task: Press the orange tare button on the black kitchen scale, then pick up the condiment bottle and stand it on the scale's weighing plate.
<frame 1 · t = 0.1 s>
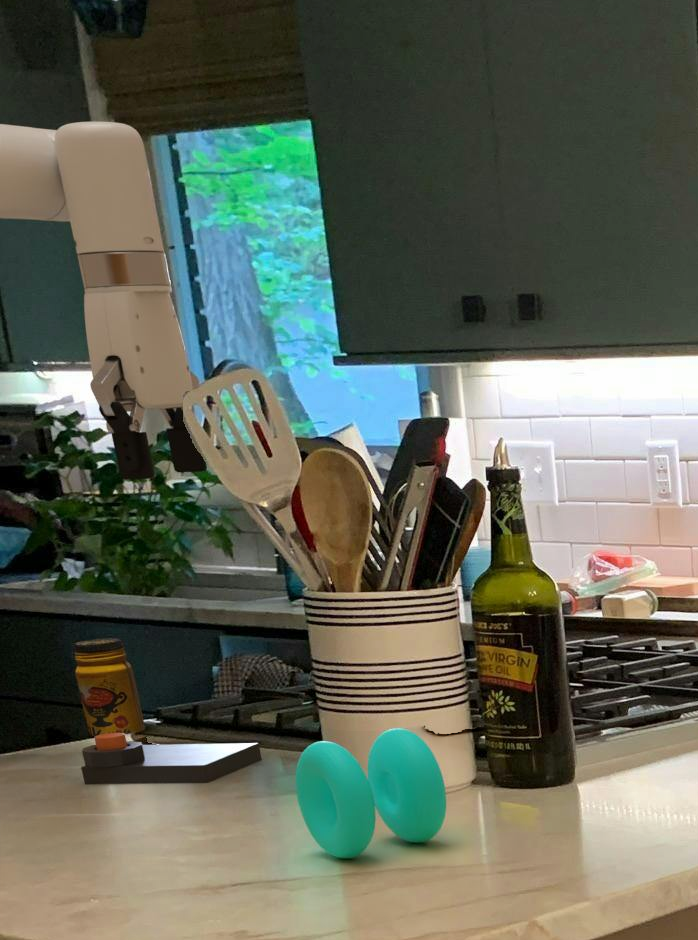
hand: (165, 475, 185), 30 cm above the counter, tool pointing down, fingers open, 9 cm apart
condiment: (122, 748, 224), on the counter
tare button: (111, 742, 204), point 4 cm above the counter, slide at 0.1 cm
donuts: (381, 851, 170), on the counter
scale: (175, 772, 208), on the counter
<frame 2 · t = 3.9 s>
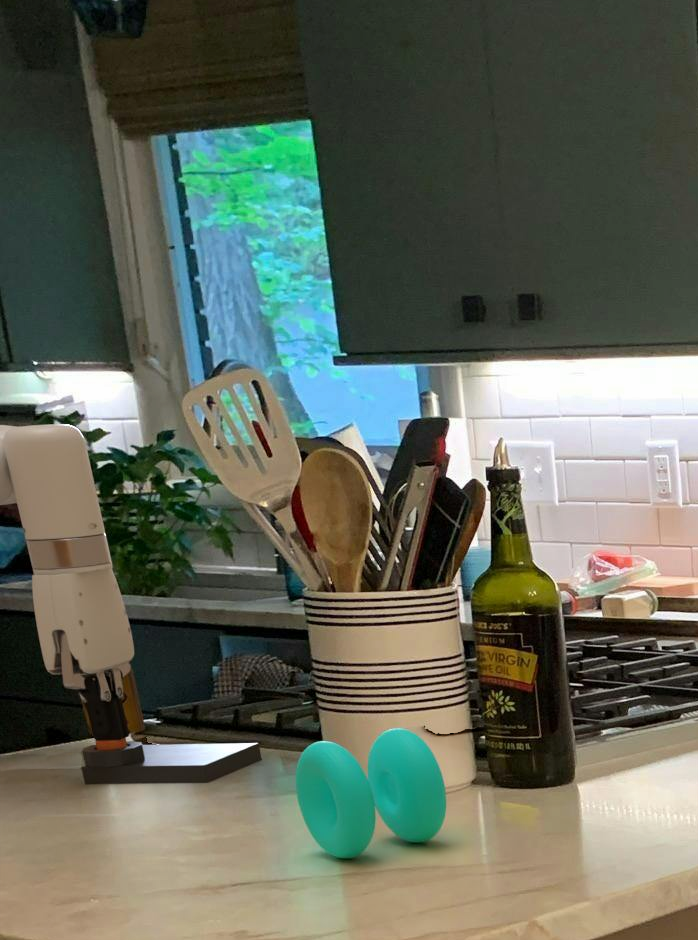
hand: (112, 738, 203), 4 cm above the counter, tool pointing down, fingers closed
tare button: (111, 746, 204), point 4 cm above the counter, slide at -0.2 cm, touching gripper
everything else where it was.
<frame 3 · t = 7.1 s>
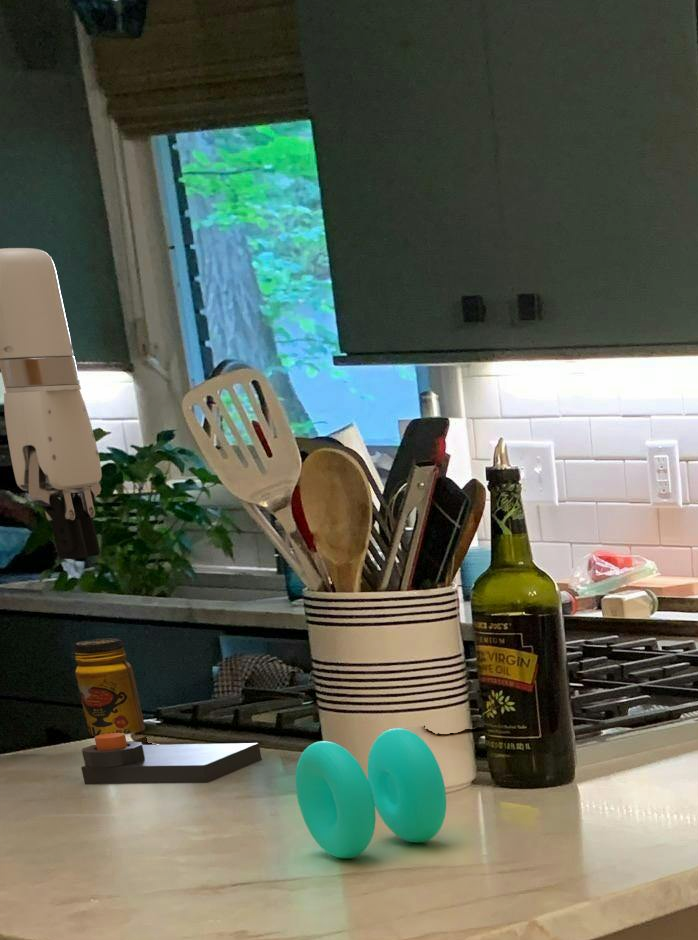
hand: (79, 555, 215), 21 cm above the counter, tool pointing down, fingers closed
tare button: (111, 742, 204), point 4 cm above the counter, slide at 0.1 cm
everything else where it was.
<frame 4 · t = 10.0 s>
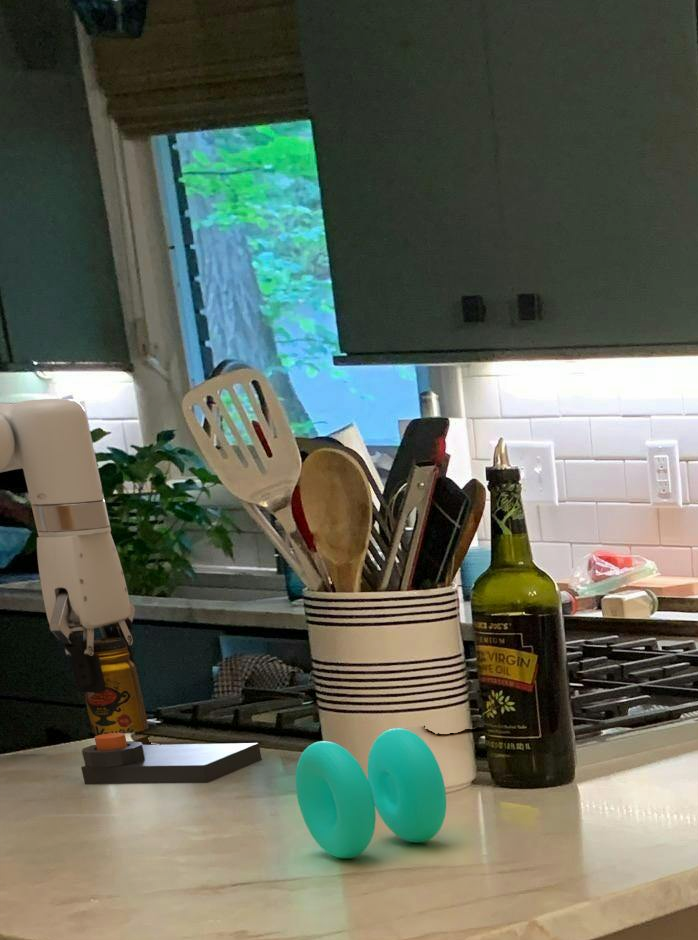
hand: (108, 685, 221), 7 cm above the counter, tool pointing down, fingers closed on condiment, 6 cm apart
condiment: (125, 747, 224), on the counter, touching gripper
everything else where it was.
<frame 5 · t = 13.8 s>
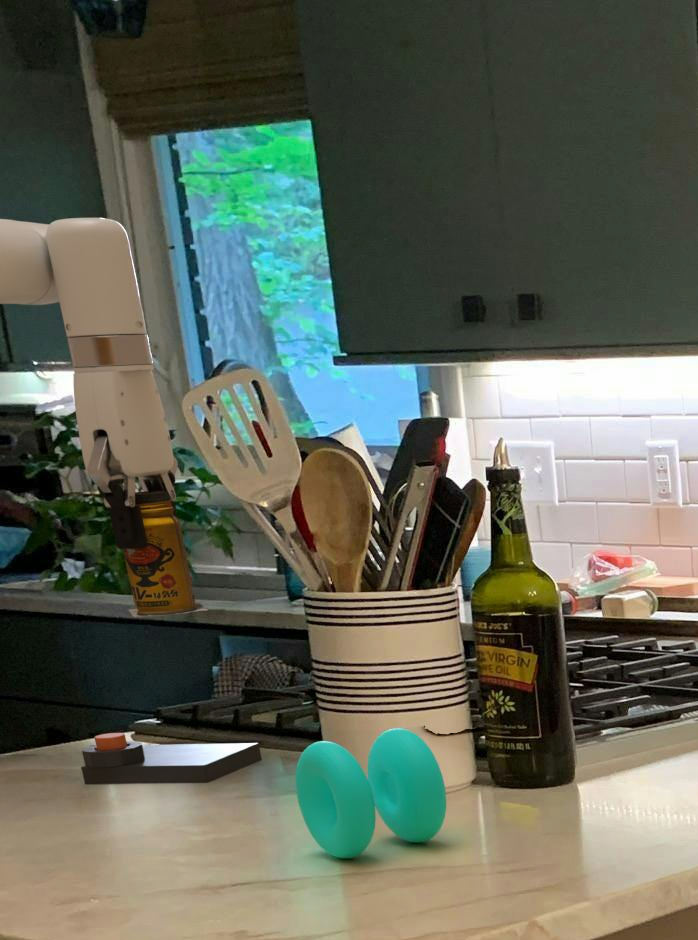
hand: (149, 543, 201), 23 cm above the counter, tool pointing down, fingers closed on condiment, 6 cm apart
condiment: (168, 613, 205), point 16 cm above the counter, touching gripper
everything else where it was.
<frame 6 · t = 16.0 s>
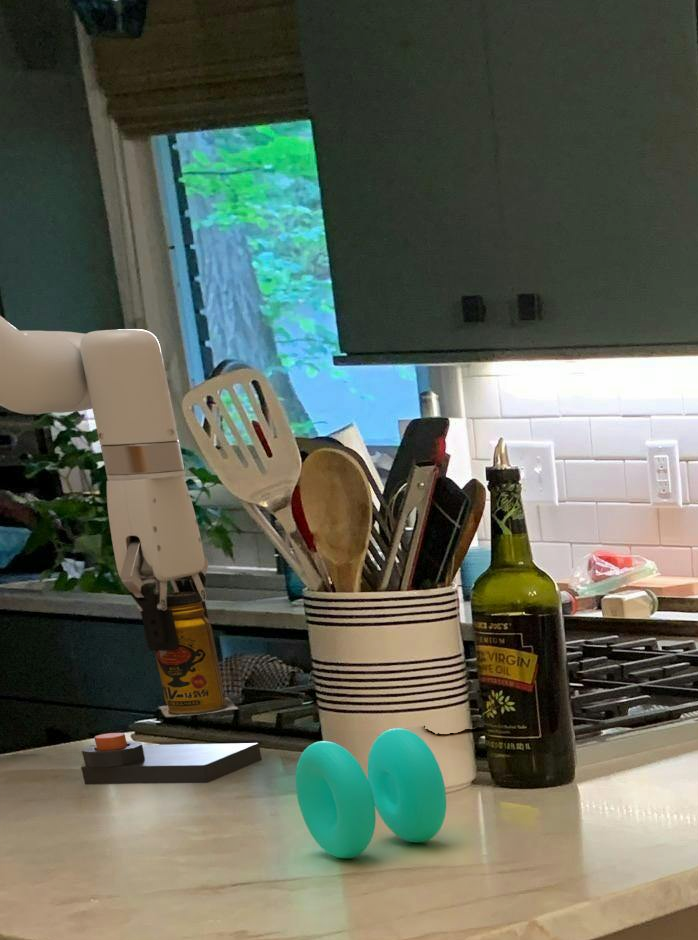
hand: (180, 643, 204), 13 cm above the counter, tool pointing down, fingers closed on condiment, 6 cm apart
condiment: (198, 711, 207), point 6 cm above the counter, touching gripper
everything else where it was.
when the fingers open (9 cm above the counter, at t = 17.5 s): condiment stays where it is, resting on scale.
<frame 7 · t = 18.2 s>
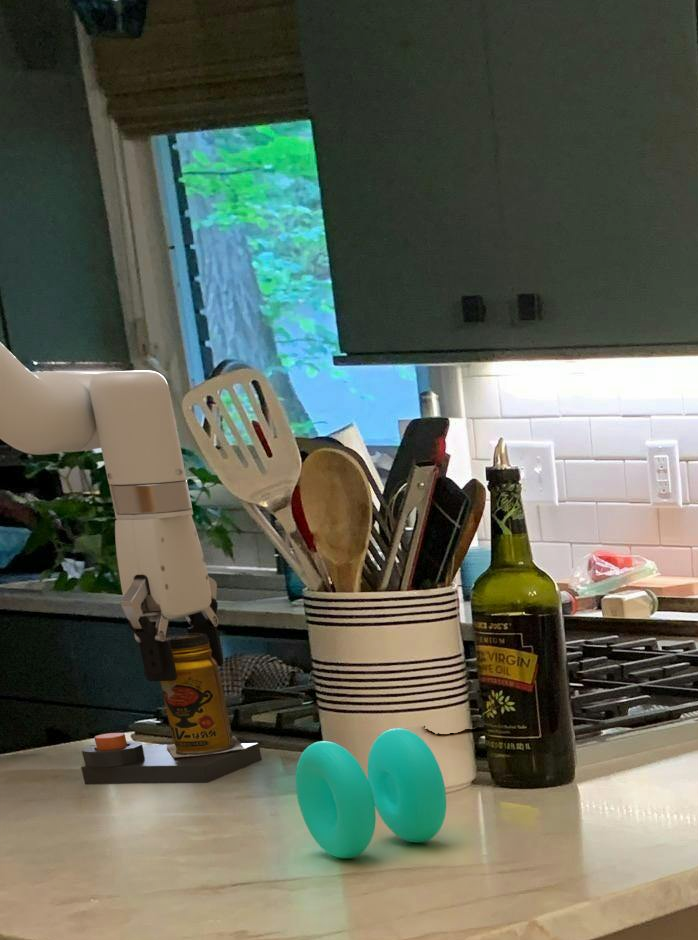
hand: (186, 672, 205), 10 cm above the counter, tool pointing down, fingers open, 9 cm apart
condiment: (206, 751, 209), point 2 cm above the counter, touching scale
everything else where it was.
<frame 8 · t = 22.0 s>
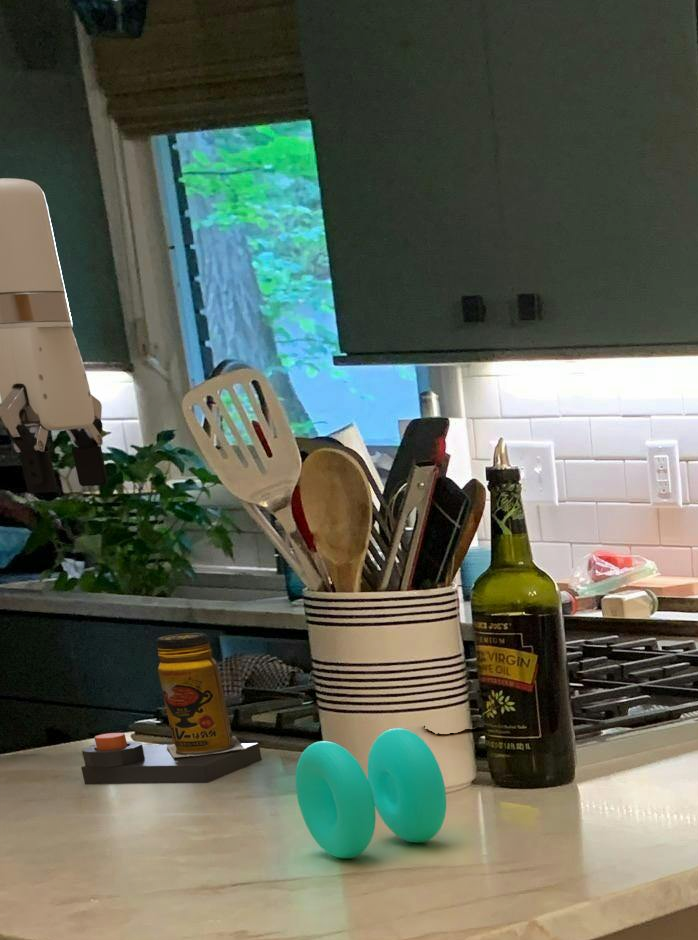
hand: (69, 488, 208), 28 cm above the counter, tool pointing down, fingers open, 9 cm apart
nothing on the counter moved.
at the end: tare button pushed in 0.9 cm at the most during the clip, back to where it started at the end; condiment inside the target area on the scale (1.4 cm from its centre), point 1.7 cm above the scale's base; condiment touching scale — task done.
